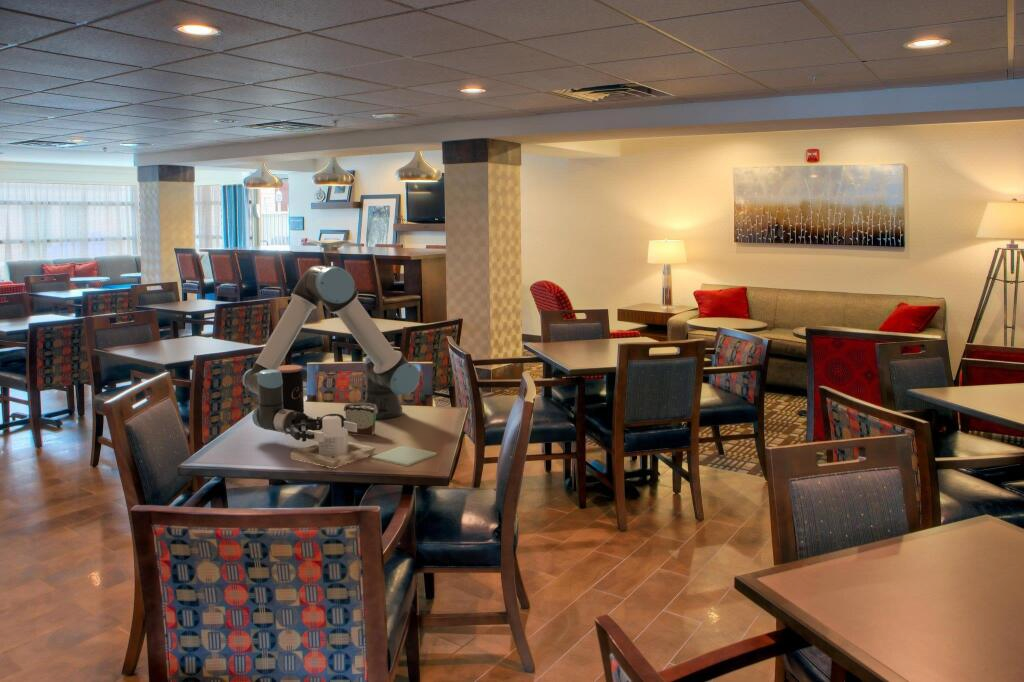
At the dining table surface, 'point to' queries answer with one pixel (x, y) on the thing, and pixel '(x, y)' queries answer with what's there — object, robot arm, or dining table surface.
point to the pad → (404, 455)
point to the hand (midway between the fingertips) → (340, 432)
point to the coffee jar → (292, 387)
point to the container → (333, 436)
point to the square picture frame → (355, 454)
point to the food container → (362, 417)
